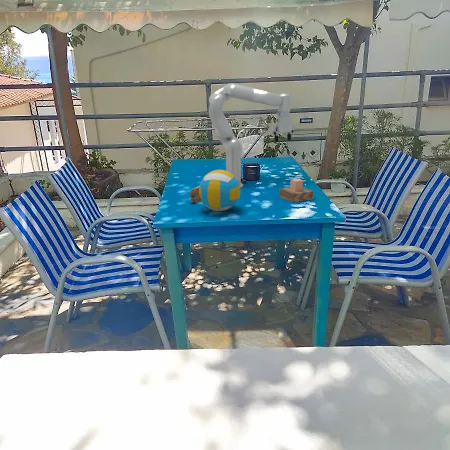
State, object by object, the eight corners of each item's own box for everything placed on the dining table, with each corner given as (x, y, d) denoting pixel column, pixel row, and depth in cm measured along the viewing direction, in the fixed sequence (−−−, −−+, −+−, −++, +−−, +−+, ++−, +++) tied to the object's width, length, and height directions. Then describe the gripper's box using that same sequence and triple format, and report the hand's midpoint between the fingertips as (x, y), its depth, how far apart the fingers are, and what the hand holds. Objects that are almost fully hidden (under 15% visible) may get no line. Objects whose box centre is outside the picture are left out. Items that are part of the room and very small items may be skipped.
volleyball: (234, 218, 211) (234, 176, 204) (193, 214, 217) (192, 173, 210) (244, 205, 231) (244, 167, 224) (206, 202, 237) (205, 165, 229)
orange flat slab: (193, 204, 235) (193, 190, 232) (189, 203, 236) (188, 189, 233) (208, 198, 247) (208, 184, 244) (204, 197, 248) (203, 183, 245)
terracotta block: (295, 191, 240) (295, 181, 238) (290, 189, 244) (290, 179, 242) (302, 190, 242) (302, 180, 240) (297, 188, 246) (297, 178, 244)
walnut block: (292, 202, 236) (293, 194, 234) (279, 196, 248) (279, 188, 246) (312, 199, 242) (313, 191, 240) (298, 193, 254) (299, 185, 252)
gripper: (275, 115, 256) (274, 142, 262) (298, 113, 263) (297, 140, 269) (269, 114, 263) (268, 141, 268) (291, 112, 270) (290, 139, 276)
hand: (282, 141), depth 269 cm, fingers open, 9 cm apart
